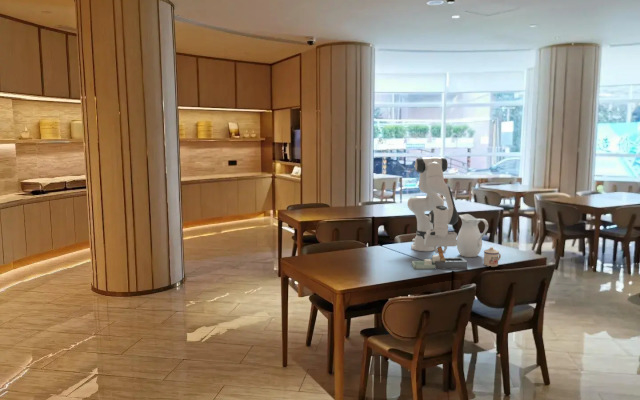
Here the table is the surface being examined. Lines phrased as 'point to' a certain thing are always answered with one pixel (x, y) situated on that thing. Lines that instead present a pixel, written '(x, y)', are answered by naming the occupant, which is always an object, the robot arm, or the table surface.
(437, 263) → the grooved board
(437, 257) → the cream block
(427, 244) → the robot arm
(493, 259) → the teacup with lid
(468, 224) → the pitcher
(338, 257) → the table surface
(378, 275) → the table surface
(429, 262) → the cream block
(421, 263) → the tray
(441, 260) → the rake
